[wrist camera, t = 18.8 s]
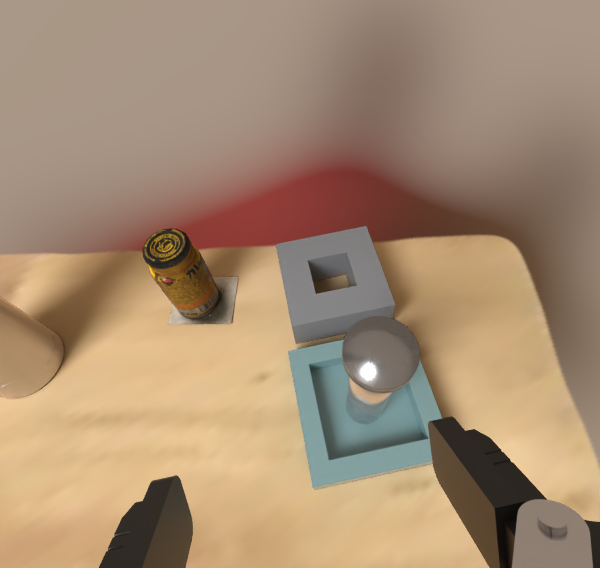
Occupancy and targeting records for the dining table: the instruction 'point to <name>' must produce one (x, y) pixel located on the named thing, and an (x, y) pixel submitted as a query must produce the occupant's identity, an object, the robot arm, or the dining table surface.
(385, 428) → the tray
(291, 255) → the socket block
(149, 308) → the dining table surface
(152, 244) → the condiment
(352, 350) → the steel pin
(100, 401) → the dining table surface
